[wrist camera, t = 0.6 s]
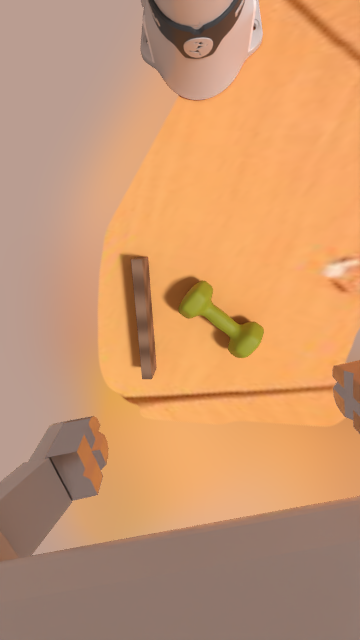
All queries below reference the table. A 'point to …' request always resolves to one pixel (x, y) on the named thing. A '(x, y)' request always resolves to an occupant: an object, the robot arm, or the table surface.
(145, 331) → the walnut board
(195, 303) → the dumbbell
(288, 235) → the table surface
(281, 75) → the table surface
